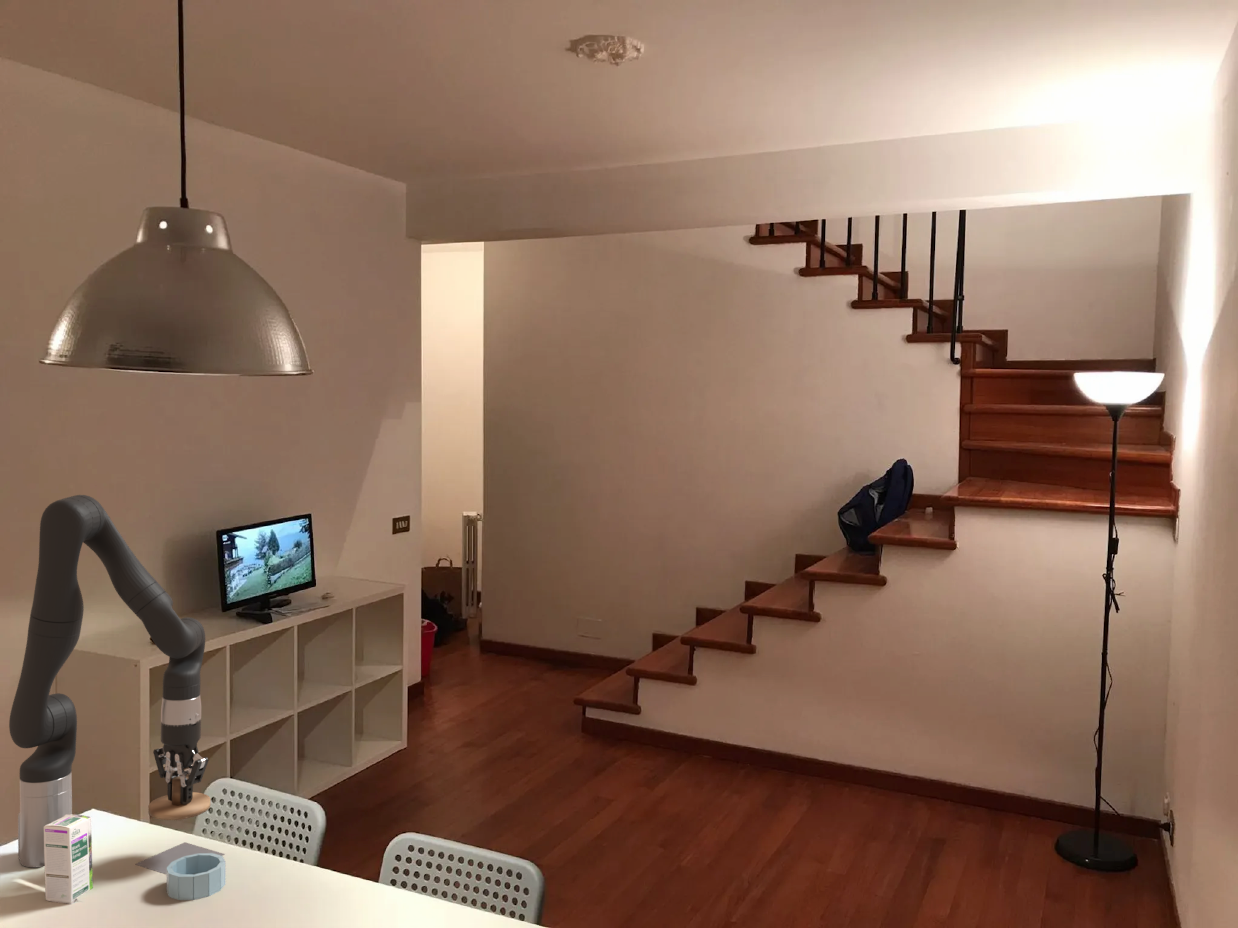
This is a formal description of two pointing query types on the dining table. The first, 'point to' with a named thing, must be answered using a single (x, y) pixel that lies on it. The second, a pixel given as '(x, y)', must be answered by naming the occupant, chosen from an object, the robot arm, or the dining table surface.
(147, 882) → the dining table surface
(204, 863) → the bowl
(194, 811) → the lid
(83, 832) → the syrup box
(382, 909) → the dining table surface
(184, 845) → the mat
